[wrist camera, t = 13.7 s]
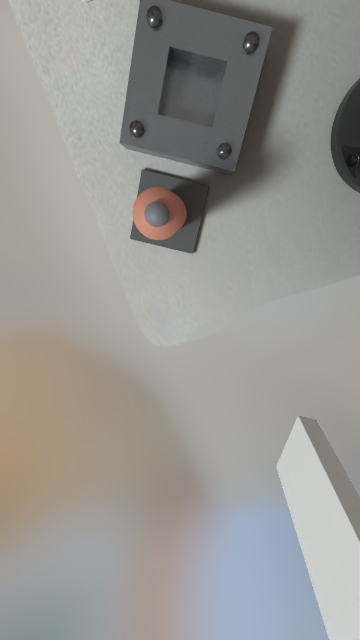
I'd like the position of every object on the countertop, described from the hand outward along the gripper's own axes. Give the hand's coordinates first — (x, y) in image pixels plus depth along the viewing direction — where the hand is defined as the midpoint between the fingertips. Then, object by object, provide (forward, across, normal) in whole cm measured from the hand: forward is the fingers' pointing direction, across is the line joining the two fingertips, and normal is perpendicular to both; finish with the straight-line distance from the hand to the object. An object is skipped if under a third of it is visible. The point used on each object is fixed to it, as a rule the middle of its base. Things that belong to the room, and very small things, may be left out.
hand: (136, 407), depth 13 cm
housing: (+35, +3, -20) cm, 40 cm away
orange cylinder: (+34, +3, -6) cm, 35 cm away
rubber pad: (+35, +3, -6) cm, 35 cm away
